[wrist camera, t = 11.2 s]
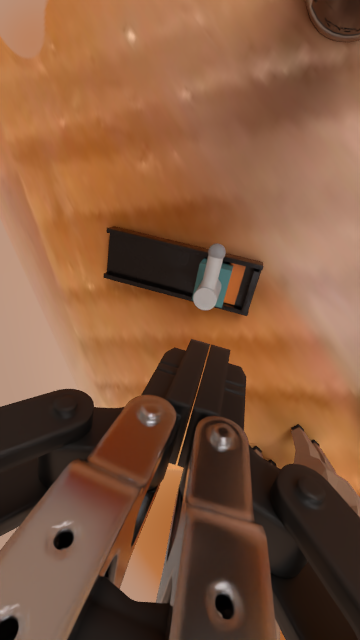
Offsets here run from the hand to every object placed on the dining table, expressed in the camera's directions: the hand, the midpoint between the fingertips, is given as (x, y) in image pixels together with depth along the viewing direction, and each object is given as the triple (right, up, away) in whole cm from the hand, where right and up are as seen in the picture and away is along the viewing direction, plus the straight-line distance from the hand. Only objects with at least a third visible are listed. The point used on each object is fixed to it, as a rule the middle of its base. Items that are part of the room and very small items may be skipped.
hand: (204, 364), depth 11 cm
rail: (-1, +9, +29) cm, 30 cm away
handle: (+4, +9, +26) cm, 28 cm away
